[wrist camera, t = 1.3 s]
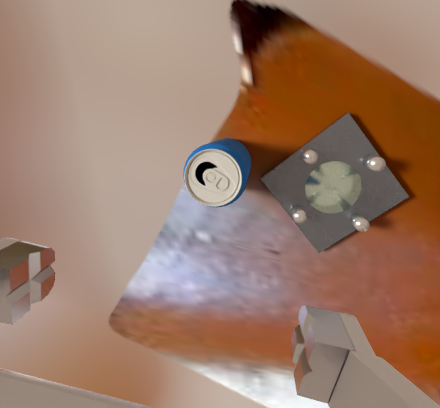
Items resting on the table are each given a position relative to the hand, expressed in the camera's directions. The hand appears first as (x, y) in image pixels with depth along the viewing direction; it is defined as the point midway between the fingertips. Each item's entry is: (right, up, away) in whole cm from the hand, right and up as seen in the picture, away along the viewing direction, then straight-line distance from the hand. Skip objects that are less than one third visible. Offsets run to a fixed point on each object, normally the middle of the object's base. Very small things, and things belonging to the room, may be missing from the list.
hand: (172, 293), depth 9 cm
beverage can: (+3, +9, +30) cm, 31 cm away
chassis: (+16, +5, +28) cm, 33 cm away
